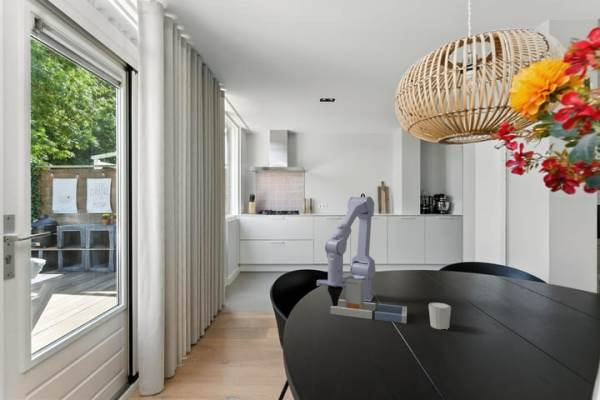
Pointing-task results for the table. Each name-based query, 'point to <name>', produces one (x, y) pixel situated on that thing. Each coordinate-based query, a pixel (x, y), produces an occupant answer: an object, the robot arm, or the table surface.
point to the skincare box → (355, 294)
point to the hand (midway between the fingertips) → (335, 305)
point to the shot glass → (439, 315)
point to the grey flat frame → (393, 311)
